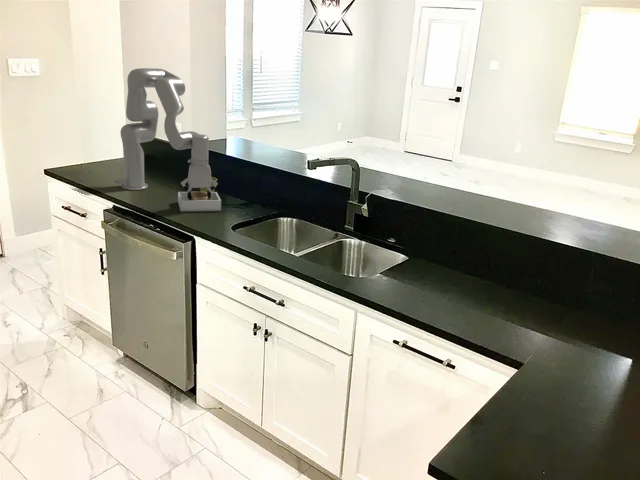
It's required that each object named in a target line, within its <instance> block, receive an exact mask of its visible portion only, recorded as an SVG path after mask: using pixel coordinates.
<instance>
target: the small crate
mask: <svg viewBox="0 0 640 480" xmlns="http://www.w3.org/2000/svg"><path fill="white" fill-rule="evenodd" d="M191 200H208V196H207V194H206V192H200V191H191Z"/></svg>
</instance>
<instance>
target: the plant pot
mask: <svg viewBox="0 0 640 480" xmlns="http://www.w3.org/2000/svg"><path fill="white" fill-rule="evenodd" d="M211 178H212V179H213V180H214V181H216V182H217V181H218V178H216V177H213V176H211ZM213 184H214V183H212V182H211V187H212V186H213ZM207 191H208V189H207V188H199V192H207ZM212 192H215V189H214V190H212Z"/></svg>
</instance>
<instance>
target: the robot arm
mask: <svg viewBox="0 0 640 480" xmlns="http://www.w3.org/2000/svg"><path fill="white" fill-rule="evenodd" d="M126 81H127V96H126V97H127V98H126V109H125V110H126V111H125V115H126V116H125V117H126V118H127V120H128V121H130V123H127V124H124V125H123V126H122V127H121V128H120V138H121V143H122V150H123V151H122V152H123V177H121V178H114V183H117V184H120V188H122V189H124V190H128V191H141V190H145V189H147V188H148V187H149V185H148V183H145V152H144V150H143V148H142V145H141V144H142V143H147V142H152V141H154V140H155V138H156V135H157V130H158V122H159V109H158V106H157V104H156V103H155V102H153V101H151V100H147V98H148V97H147V96H148V95H147V91H146V88H149V89H150V88H153V89H154V88H155V89H154V90H155V91H156V94H157V97H158V99H159V101H160V103H161V106H162V108H163V111H164V112H165V118H164V127H163V128H164V133H165V136H166V137H167V141H168V142H169V144H170V146H171V147H172V148H173V149H174V150H178V151H182V150H188V149H191V151H190V153H191V155H190V156H191V158H190V159H187V163H188V164H189V168H188V175H187V178H184V179H183V181H181V182H180V185H181V186H182V187H183V188H184V190H185V191H186V192H188V198H189V200H191V192H192V190H193V189H200V188H207V189H208V191H207V196H208V200H209V198H211V192H212V190H214V191H215V189H216V187H217V186H218V182H217V181H214V180H213V179H212V178H211V177H212V170H211V166H210V164H209V150H210V149H209V147H210V146H209V144H210V137H209V136H208V135H206V134H201V133H198V132H196V131H181V132H179V130H178V127H177V124H176V121H177V120H176V119H177V117H178V116H179V115H181V114H182V113H183V111H184V109H185V107H184V105H183V103H182V100H181V98H180V97H181V96H183V95H184V94H185V92H186V85H185V82H184V81H183V80H182V78H180V77H179V76H177V75H175V74H173V73H172V72H169V71H168V70H165V69H164V68H149V67H148V68H147V67H146V68H145V67H144V68H141V67H139V68H134V69H132V70H130V71H129V73H128V75H127V80H126ZM131 122H132V123H131ZM211 182H212V183H214V184H213V186H212V187H211ZM186 184H188V186H187V185H186Z"/></svg>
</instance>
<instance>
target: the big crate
mask: <svg viewBox="0 0 640 480" xmlns="http://www.w3.org/2000/svg"><path fill="white" fill-rule="evenodd" d="M206 194H207V192H206ZM177 203H178V207H179V211H180V212H221V211H222V199H221V197H220V195H219V194H218V192H217V191H214V192H211V198H209V200H189V198H188V191H178V192H177Z"/></svg>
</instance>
